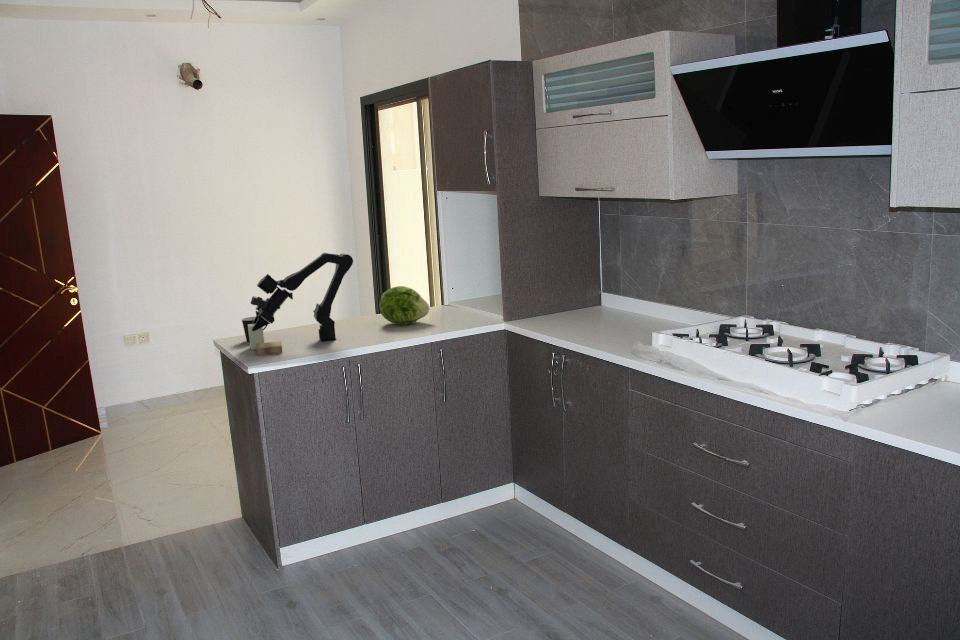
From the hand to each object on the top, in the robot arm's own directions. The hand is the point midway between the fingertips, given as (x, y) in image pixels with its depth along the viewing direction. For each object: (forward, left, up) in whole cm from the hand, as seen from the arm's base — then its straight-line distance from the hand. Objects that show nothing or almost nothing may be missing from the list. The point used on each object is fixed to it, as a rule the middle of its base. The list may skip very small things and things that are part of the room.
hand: (252, 329), depth 337 cm
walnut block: (-6, +10, -9) cm, 15 cm away
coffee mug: (-1, -17, -8) cm, 19 cm away
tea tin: (-1, 0, -8) cm, 8 cm away
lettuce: (-69, -21, -8) cm, 73 cm away
